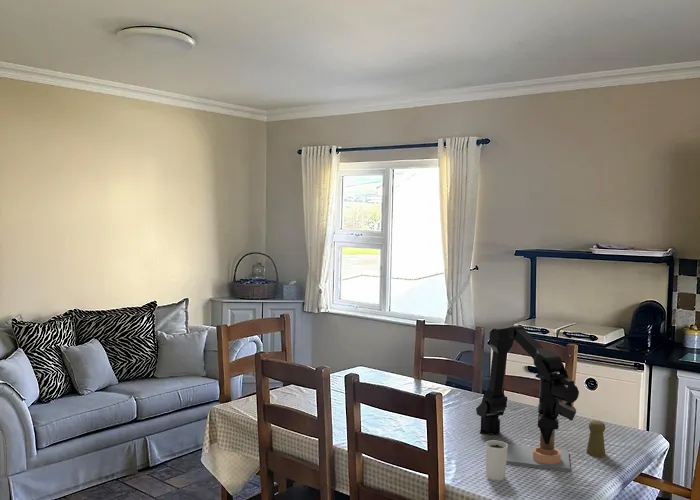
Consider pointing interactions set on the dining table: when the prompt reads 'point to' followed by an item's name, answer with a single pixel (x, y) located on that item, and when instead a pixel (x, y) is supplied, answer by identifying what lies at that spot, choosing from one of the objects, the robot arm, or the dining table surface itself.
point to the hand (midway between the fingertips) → (547, 441)
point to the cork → (596, 439)
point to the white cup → (496, 459)
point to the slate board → (525, 458)
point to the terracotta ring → (546, 455)
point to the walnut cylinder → (551, 443)
